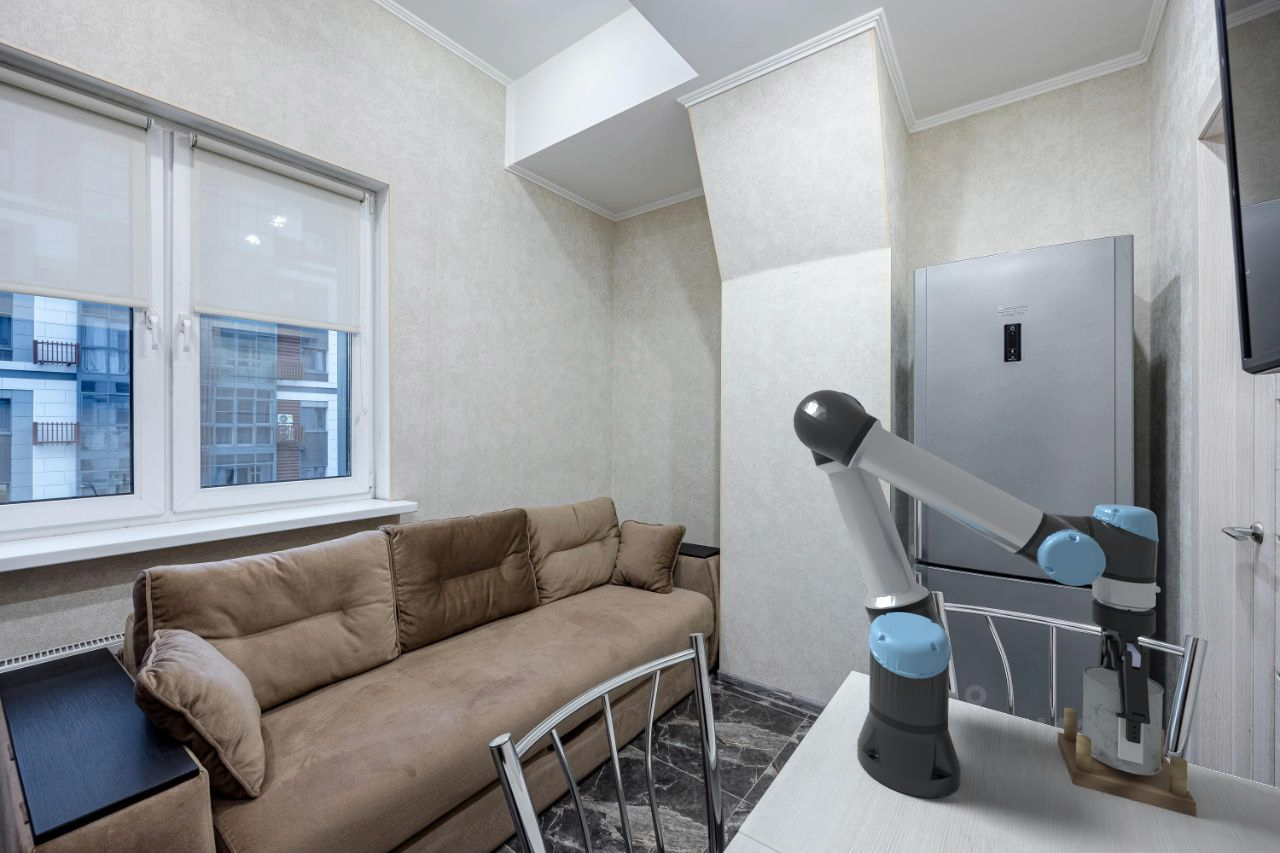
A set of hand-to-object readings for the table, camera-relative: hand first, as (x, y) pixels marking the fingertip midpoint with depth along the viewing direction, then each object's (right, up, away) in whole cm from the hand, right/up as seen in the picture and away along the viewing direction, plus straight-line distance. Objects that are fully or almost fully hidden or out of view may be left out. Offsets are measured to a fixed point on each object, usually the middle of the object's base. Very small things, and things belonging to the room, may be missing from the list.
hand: (1120, 742), depth 86 cm
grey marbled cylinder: (0, -2, 0) cm, 2 cm away
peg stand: (0, -5, 0) cm, 5 cm away
